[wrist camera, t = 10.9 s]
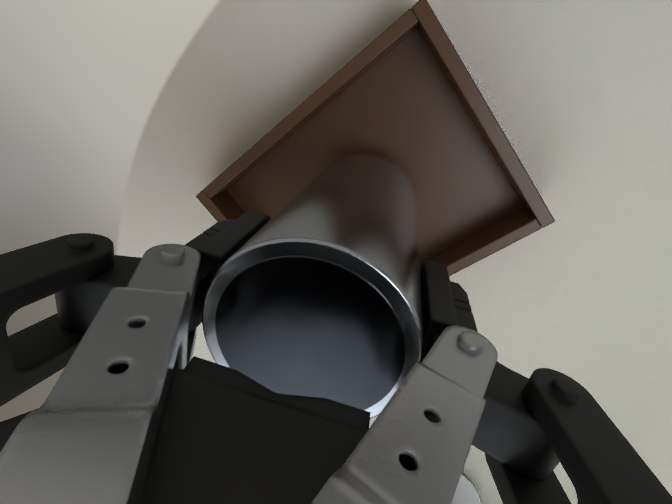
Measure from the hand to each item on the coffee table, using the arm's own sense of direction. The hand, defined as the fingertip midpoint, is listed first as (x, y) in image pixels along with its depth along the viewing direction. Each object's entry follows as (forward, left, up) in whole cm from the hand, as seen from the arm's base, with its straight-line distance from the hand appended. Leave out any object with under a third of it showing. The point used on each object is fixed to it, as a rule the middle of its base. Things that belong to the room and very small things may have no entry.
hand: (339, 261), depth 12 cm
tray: (0, 0, -9) cm, 9 cm away
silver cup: (0, 0, -7) cm, 7 cm away
